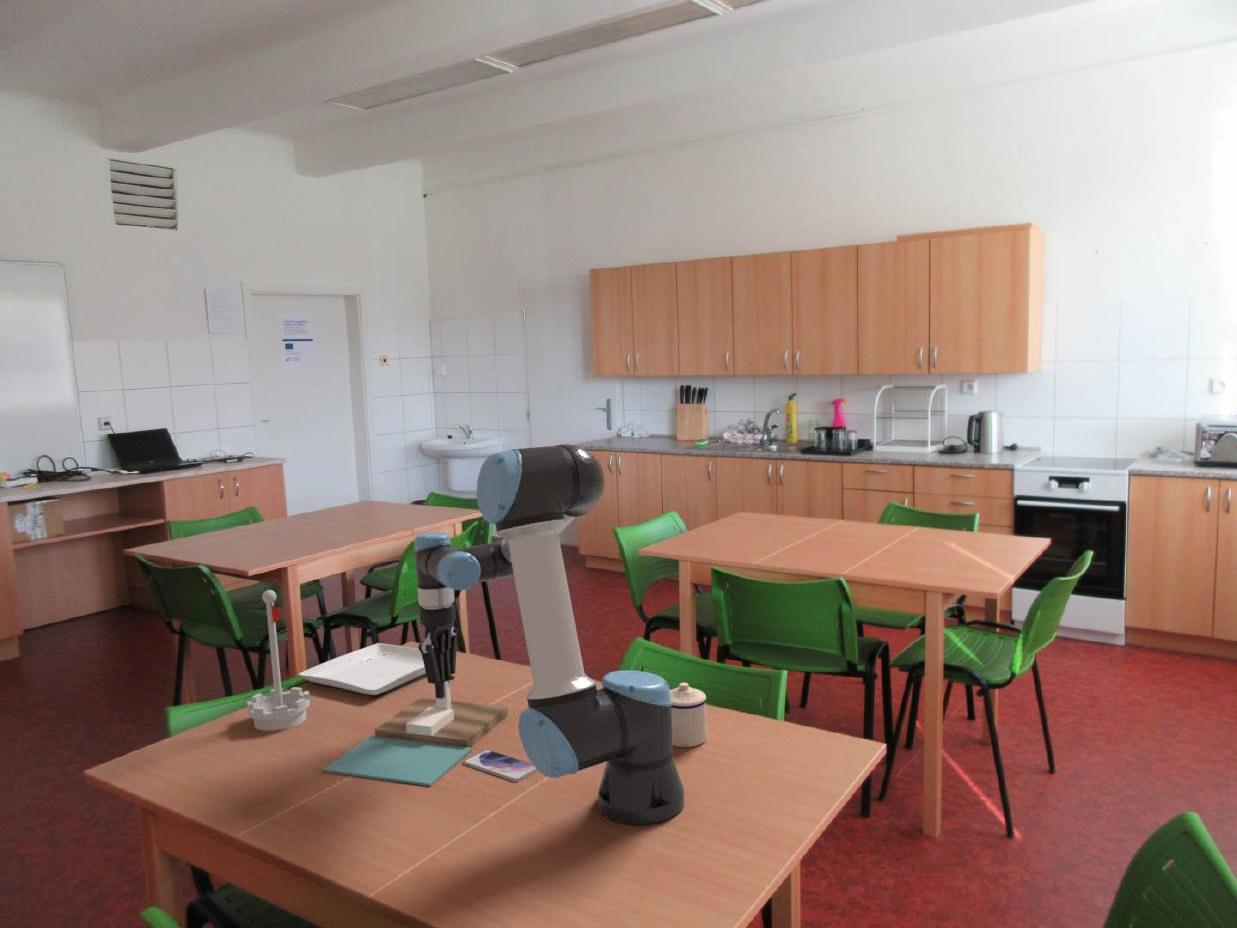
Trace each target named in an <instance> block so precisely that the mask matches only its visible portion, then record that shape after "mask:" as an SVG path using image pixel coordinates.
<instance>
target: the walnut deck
mask: <svg viewBox="0 0 1237 928" xmlns="http://www.w3.org/2000/svg"><path fill="white" fill-rule="evenodd" d="M429 707H431V708H437V704H436V698H426V697H419V698H418V699H416V700H415V701H414V702H413V703H410V705H408V706H406V707H405V708H404V709H401V711H399V712H397V714H395V715H393V716H392V717H391V718H389V719H388V720H386V721H385V722H382V723H381V724H380V725H379V726H377V727H376V728H375V729H374V736H378V737H387V738H395V739H403V740H412V741H420V742H428V743H437V744H445V745H454V746H462V747H470V748H472V747H473V746H474V745H475V744H476V743H478V742H479V741H480V740H481V739H482V738H483V737H484V736H486V735H487V734H488V733H489V732H490V731H491V730H492V729H493V728H494V727H496V726H498V724H499V723H501V722H502V721H503V720H504V719H505V718H506V717H508V715H509V714H508V706H505V705H495V704H485V703H475V702H474V703H473V702H465V701H456V700H451V710H453V711H454V719H453V720H452V721H451V722H449V723H448V724H447V725H445V726H444V727H443V728H442V729H440V730H439V731H438V732H436V733H435V734H434V735H432V736H428V735H419V734H411V733H407V731H406V723H408V722H409V721H411V720H412V719H413V718H415V717H416V716H418V715H419V714H420V713H422V712H423V711H425V710H426V709H428V708H429Z"/></svg>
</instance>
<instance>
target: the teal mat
mask: <svg viewBox="0 0 1237 928" xmlns="http://www.w3.org/2000/svg"><path fill="white" fill-rule="evenodd" d="M472 751H473V747H462V746H454V745H445V744H437V743H428V742H420V741H412V740H403V739H395V738H387V737H378V736H375V735H370V736H368V738H366V739H365V740H363V741H361V742H360V743H358V744H356V746H354V747H353V748H352V749H350V750H349V751H348V752H346V753H344V754H343V755H342V756H340V757H339V758H337V759H335V760H334V761H333V762H331V763H330V764H328V765H327V766H326V767H325V768H323V769H322V770H323V772H324V773H330V774H331V773H333V774H340V775H345V776H353V777H360V778H367V779H375V780H380V781H381V780H383V781H388V782H389V781H390V782H396V783H398V782H399V783H404V784H411V785H416V786H417V785H419V786H426V787H432V786H433V785H434V784H435V783H436V782H437V781H439V780H440V779H441V778H443V777H444V776H445V775H446V774H447V773H448V772H449V771H450V770H451V769H453V768H455V766H456V765H457V764H458V763H460V762H461V760H463V759H464V758H465V757H467V755H468V754H470V753H471V752H472Z"/></svg>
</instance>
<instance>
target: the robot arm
mask: <svg viewBox="0 0 1237 928" xmlns="http://www.w3.org/2000/svg"><path fill="white" fill-rule="evenodd" d="M605 482H606V480H605V473H604V470H603V467H602V464H601V463H600V461H599V460H598V459H597V458H596V456H594V455H593V453H592V452H590V451H589V450H587V449H586V448H583V447H581V446H579V445H574V444H565V443H564V444H558V445H548V446H537V447H536V446H535V447H525V448H513V449H507V450H504V451H500V452H499V451H498V452H495V453H493V454H490V455H489V456H487V457H486V459H485V460H484V461H483V463H482V464H481V466H480V470H479V473H478V477H477V482H476V483H477V484H476V501H477V505H478V506H477V507H478V510H479V512H480V513H481V517H482V519H484V521H485V522H487V523H490V524H493V525H495V528H496V529H495V531H496V534H497V535H498V536H500V537H501V540H500V541H495V542H488V543H484V544H478V545H473V546H466V547H460V548H454V547H451V546H452V542H451V537H450V536H451V535H450V534H449V533H448V532H445V531H428V532H422V533H420V534H417V535H416V536H415V538H414V551H413V555H414V560H415V571H416V574H415V575H416V584H417V597H418V605H420V607H418V615H419V624H420V625H422V626H424V628H425V630H424V631H425V632H424V639H425V640H424V641H423V643H419V644H418V647H417V649H419V650H420V652H421V654H422V658H423V662H424V667H425V671H426V674H425V675H426V679H427V683H428V684H434V692H435V699H436V704H437V708H440V709H449V710H451V701H452V698H451V684H450V682H451V681H454V680H455V676H454V675H455V674H456V664H457V663H456V662H457V648H458V645H457V643H458V636H459V633H460V629H459V628H458V627H457V628H456V627H453V624H452V623H454V622H455V621H456V618H457V617H456V606H455V604H454V602H455V590H456V591H467V590H470V589H471V588H474V586H475V585H476V584H478V583H481V582H489V581H491V580H496V579H503V578H508V577H509V578H510V577H513V578H514V583H515V588H516V589H515V590H516V595H517V599H518V600H517V601H518V605H519V606H518V607H519V611H520V616H521V621H522V626H523V632H524V638H525V643H526V648H527V649H526V650H527V655H528V659H529V665H530V671H531V674H532V675H531V676H532V682H533V685H532V687H531V688H530V690H529V691H528V694H527V695H526V701H527V705H528V708H526V709H524V711H522V712H521V713H520V715H519V717H518V735H519V739H520V742H521V744H522V748H523V750H524V752H525V754H526V756H527V758H528V759H529V761H530V763H531V764H533V765H534V767H535V768H536V769H537V770H538V771H537V772H539V773H540V774H542V775H543V776H545V777H548V778H553V779H556V778H560V777H563V776H567V775H575V774H576V773H578V772H579V771H582V770H585V769H589V768H592V767H594V766H597V765H601V764H603V763H605V767H604V770H603V774H602V777H601V779H600V784H599V786H598V787H599V788H598V791H597V793H598V794H597V804H598V809H599V811H600V812H601V813H602V814H603V815H604V816H605V817H607V818H608V819H611V820H612V821H616V822H619V823H623V824H629V825H651V824H656V823H661V822H663V821H667V820H670V819H671V818H673V817H676V815H678V814H679V813H681V811H682V810H683V808H684V807H685V789H684V784H683V783H682V780H681V777H680V774H679V772H678V769H677V767H676V764H675V761H674V758H673V757H674V756H673V753H674V752H673V745H672V722H671V706H672V702H671V696H670V690H671V689H670V686H669V683H668V682H667V680H666V679H664V678H663V677H661V676H659V675H658V674H654V673H651V672H646V671H642V670H626V669H625V670H616V671H611V672H608V673H606V674H605V675H603V677H602V681H601V686H602V688H598V689H597V684H596V681H595V680H594V679H592V678H591V677H589V676H588V675H587V674H586V673H585V670H584V663H583V659H582V658H583V657H582V654H581V648H580V642H579V637H578V632H577V627H576V621H575V617H574V611H573V605H572V601H571V594H570V590H569V584H568V580H567V579H568V578H567V574H566V569H565V563H564V558H563V552H562V548H561V547H562V546H561V542H560V536H559V534H560V533H561V532H562V531H563V530H564V529H565V528H566V527H567V526H568V525H569V524H570V523H571V522H572V521H573V520H574V519H576V518H582V517H583V516H585V515H587V514H588V513H589V512H590V511H591V510H592V509H593V508H595V506H597V504H598V503H599V501H600V500H601V498H602V496H603V495H604V494H603V493H604V489H605V484H606V483H605Z"/></svg>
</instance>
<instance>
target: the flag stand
mask: <svg viewBox="0 0 1237 928" xmlns="http://www.w3.org/2000/svg"><path fill="white" fill-rule="evenodd" d="M261 598H262V601H263V602H264V603H265V605H266V617H267V626H268V637H269V646H270V647H269V649H270V657H271V658H270V659H271V669H272V678H273V679H272V680H273V681H272V682H273V689H270V690H269V692H270V694H269V695H265V696H264V695H263V693H257V694H255V695H253V696H251V701H247V702H246V705H247V706H246V707H247V708H246V709H247V714H248V716H249V717H250V718H251V719H253V725H254V728H255V729H256V730H259V731H264V732H273V731H274V732H275V731H282V730H287V729H290V728H293V727H296V726H298V725H300V724H302V723H303V722H304V721H305V720H306V719H307V709H308V708H309V706H310V705H311V700H310V691H309V690H304V691H303V687H295V686H293V687H292V688H290V691H287V692H285V691H283V688H282V682H281V679H282V678H281V671H280V659H279V647H278V638H277V637H278V636H277V627H276V626H277V625H276V622H277V621H278V620H279V619H281V618H283V616H282V615H281V613H280V612H279V611H278V610H277V608H276V607H275V606H274V605H275V604H274V602H276V600H277V594H276V592H275V591H274V590H272V589H268V590H265V591H264V592H263V594H262V597H261Z"/></svg>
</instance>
